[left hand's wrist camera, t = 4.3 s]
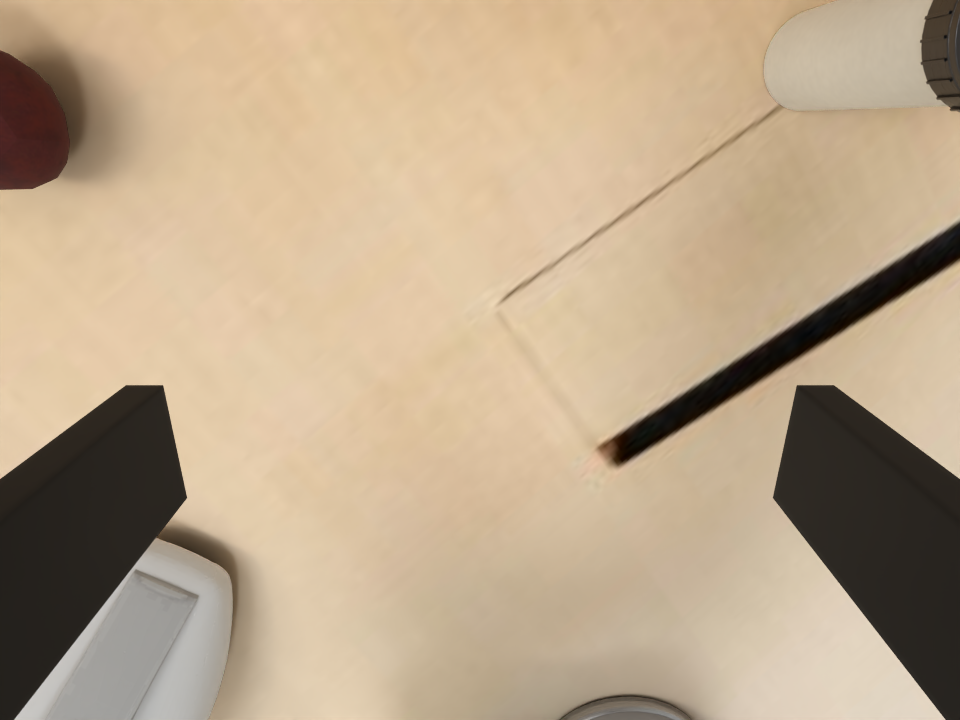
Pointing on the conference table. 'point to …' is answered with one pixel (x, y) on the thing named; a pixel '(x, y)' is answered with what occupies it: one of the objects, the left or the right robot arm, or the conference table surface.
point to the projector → (147, 646)
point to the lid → (942, 51)
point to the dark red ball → (29, 128)
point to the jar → (851, 57)
